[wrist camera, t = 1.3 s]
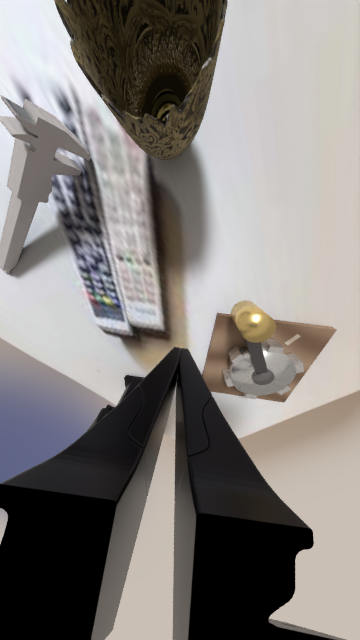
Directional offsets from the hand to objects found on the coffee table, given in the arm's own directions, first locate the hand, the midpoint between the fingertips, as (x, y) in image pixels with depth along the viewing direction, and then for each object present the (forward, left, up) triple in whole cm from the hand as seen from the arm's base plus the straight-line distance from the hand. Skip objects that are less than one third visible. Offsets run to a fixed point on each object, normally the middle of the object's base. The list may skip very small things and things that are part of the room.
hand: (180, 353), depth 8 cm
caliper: (+7, +20, -12) cm, 24 cm away
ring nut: (-7, -11, -11) cm, 17 cm away
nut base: (-10, -12, -12) cm, 20 cm away
